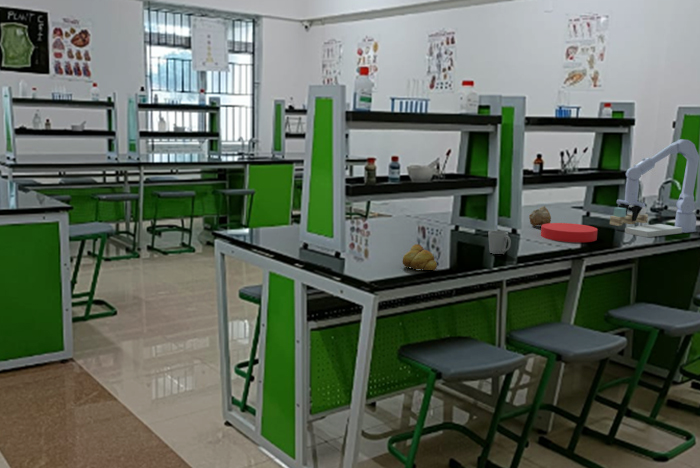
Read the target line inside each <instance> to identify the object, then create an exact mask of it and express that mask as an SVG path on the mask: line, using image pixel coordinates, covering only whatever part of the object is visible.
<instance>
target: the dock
mask: <svg viewBox="0 0 700 468" xmlns="http://www.w3.org/2000/svg"><path fill="white" fill-rule="evenodd" d="M624 229H625V230H624V233H625V234H628V235H634V236H639V237H643V238H644V237H645V238H651V237H659V236H661V237H662V236H668V235H678V234H683V232H682V229H683V228H681V227H675V225H669V224H664V223H663V224H662V223H656V224H646V225H639V226H630V227H625V228H624Z"/></svg>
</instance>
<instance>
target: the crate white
mask: <svg viewBox="0 0 700 468" xmlns="http://www.w3.org/2000/svg"><path fill="white" fill-rule="evenodd" d="M646 211H647V206H645V207H642V209H641V211H640V212H639V214H638V215H645V214H647V213H646Z"/></svg>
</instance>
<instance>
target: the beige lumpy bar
mask: <svg viewBox="0 0 700 468" xmlns="http://www.w3.org/2000/svg"><path fill="white" fill-rule="evenodd" d="M648 221H649V214H647V213H645V215H638V216H637V219H636V221H632V213H630V214H629V213H627V215H626V217H616V216H613V215H610V218H609V225H611V226H616V227H617V226H618V227H619V226H623V224H627V225H636V223H640V224H648V223H649V222H648Z"/></svg>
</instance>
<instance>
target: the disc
mask: <svg viewBox="0 0 700 468" xmlns="http://www.w3.org/2000/svg"><path fill="white" fill-rule="evenodd" d="M540 226H541V225H540ZM540 229H541V230H540V236H541V238H544V239H548V240H550V239H551V241H558V242H564V243H565V242H566V243H592V242H595V241H597V239H598V228H597V227H595V226H591V225H587V224H586V225H585V224H581V223H580V224H578V223H572V222H571V223H568V222H567V223H566V222H550V223H548V224H543V225H542V226H541V228H540Z"/></svg>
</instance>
